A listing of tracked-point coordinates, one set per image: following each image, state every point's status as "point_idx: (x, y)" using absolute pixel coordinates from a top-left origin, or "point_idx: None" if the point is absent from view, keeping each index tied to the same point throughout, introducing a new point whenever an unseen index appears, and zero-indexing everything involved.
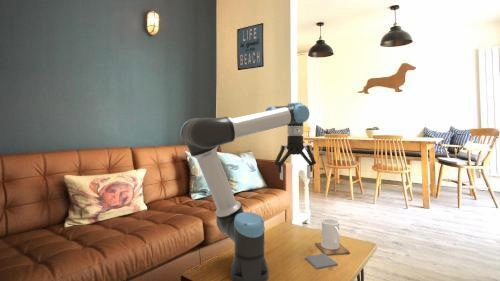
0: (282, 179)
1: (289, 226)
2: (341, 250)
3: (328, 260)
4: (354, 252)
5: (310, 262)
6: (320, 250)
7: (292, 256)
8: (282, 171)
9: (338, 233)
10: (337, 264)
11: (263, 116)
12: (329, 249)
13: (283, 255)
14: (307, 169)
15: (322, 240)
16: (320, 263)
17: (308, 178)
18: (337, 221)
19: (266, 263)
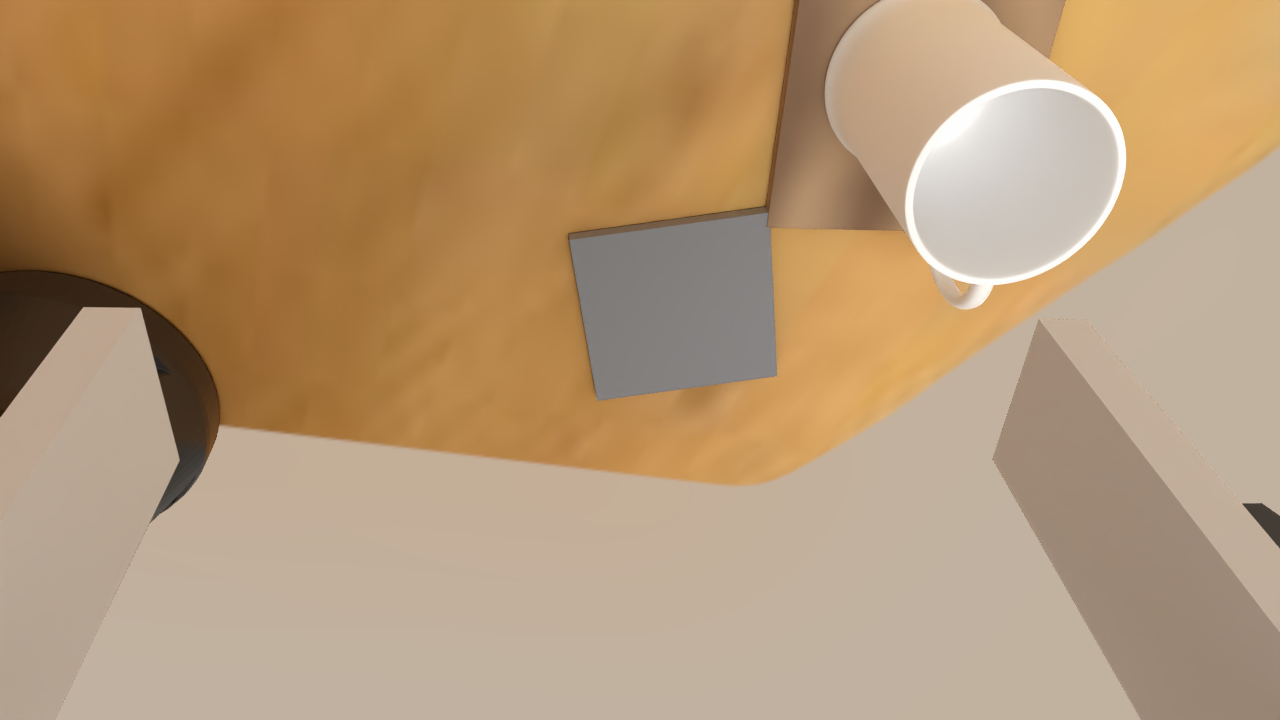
0: (159, 470)
1: None
2: None
3: (735, 326)
4: None
5: (583, 320)
6: (778, 124)
7: (469, 182)
8: (53, 680)
9: (959, 308)
10: (773, 373)
11: None
12: None
13: (388, 149)
14: (1170, 570)
15: (845, 104)
16: (650, 356)
17: (1005, 444)
18: (1109, 183)
19: (176, 475)
